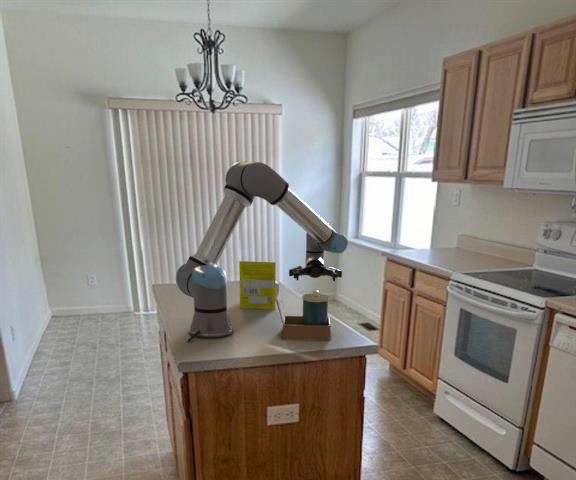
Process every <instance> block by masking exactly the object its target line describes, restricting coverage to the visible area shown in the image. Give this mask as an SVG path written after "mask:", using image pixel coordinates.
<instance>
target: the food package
mask: <svg viewBox="0 0 576 480" xmlns="http://www.w3.org/2000/svg"><path fill="white" fill-rule="evenodd" d="M276 264H277V263H276V262H275V261H248V260H247V261H246V260H239V262H238V265H239V268H238V269H239V270H238V271H239V308H240V309H258V310H261V309H262V310H276V300H275V281H276V267H277V266H276Z"/></svg>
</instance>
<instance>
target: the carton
mask: <svg viewBox="0 0 576 480" xmlns="http://www.w3.org/2000/svg"><path fill="white" fill-rule="evenodd" d="M302 319H303V315H284V321H283V323H282V339H283V340H284V339H285V340H317V341H318V340H320V341H321V340H322V341H330V340H331V321H330V316H327V326H316V325H302Z"/></svg>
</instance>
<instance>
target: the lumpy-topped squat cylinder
mask: <svg viewBox="0 0 576 480" xmlns="http://www.w3.org/2000/svg"><path fill="white" fill-rule="evenodd" d="M278 293H279V294H280V283H279V282H278V281H277V280H275V301H276V300H277V296H278Z"/></svg>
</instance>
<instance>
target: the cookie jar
mask: <svg viewBox="0 0 576 480" xmlns="http://www.w3.org/2000/svg"><path fill="white" fill-rule="evenodd" d="M301 300H302V316H303V319H302V325H316V326H327V317H329V315H328V314H329V313H328V312H329V300H330V296H329V295H328V294H324V293H320V292H319V290H313V291H312V293H305V294H303V295H302V296H301Z"/></svg>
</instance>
